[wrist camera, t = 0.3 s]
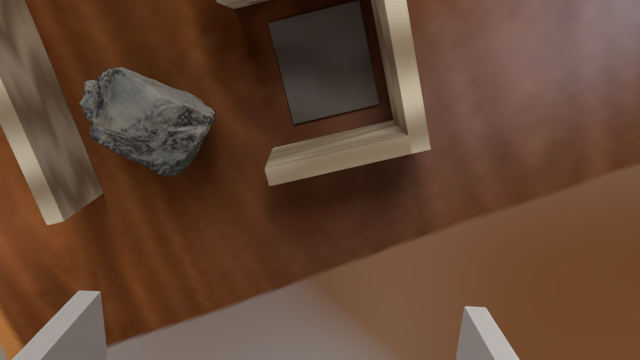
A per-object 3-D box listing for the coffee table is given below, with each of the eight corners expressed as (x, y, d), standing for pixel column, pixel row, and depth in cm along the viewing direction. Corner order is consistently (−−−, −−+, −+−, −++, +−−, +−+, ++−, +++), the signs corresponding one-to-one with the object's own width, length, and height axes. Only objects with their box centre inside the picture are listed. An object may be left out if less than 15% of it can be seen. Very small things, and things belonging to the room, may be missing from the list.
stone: (66, 176, 32) (185, 113, 30) (53, 71, 36) (157, 11, 34) (152, 210, 40) (248, 162, 39) (134, 122, 44) (220, 76, 43)
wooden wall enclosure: (7, 1, 37) (-60, -8, 31) (372, -96, 36) (385, -127, 29) (92, 205, 43) (51, 236, 36) (412, 131, 41) (430, 149, 34)
